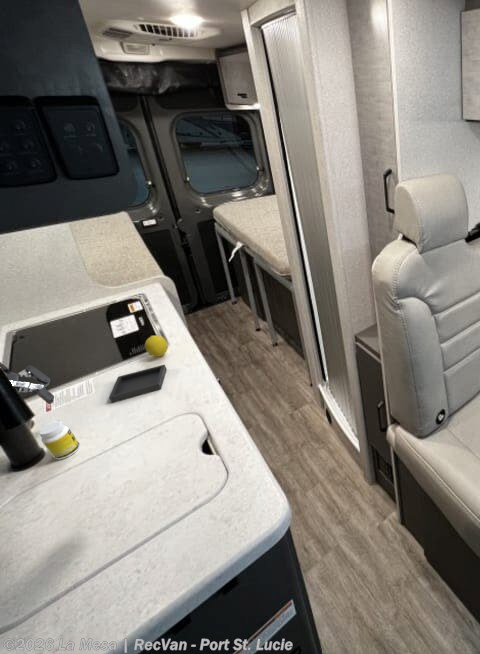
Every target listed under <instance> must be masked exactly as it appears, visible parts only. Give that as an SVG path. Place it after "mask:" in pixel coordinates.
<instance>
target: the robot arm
mask: <svg viewBox="0 0 480 654" xmlns="http://www.w3.org/2000/svg"><path fill="white" fill-rule="evenodd" d="M0 367H1V368H2V369H3V371H4V372H5V374H6V375H7V377H8V379H9V381H10V382H11V384H12V386H13V387H14V388H15V389H16V391H17V392H18V393H23V394H24V393H25V394H26V393H33V394H36V395H37V396H38V397H39V398H41V399H42V400H43V401H44V402H45V403H46V404H48V405H51V404H53V403H54V399H55V396H54V394H52V393H51V392H50V391H49V390H48V389H46V388H47V387H48V386H49V385H50V384H51V383H50V382H51V378H50V377H48V375H46V374H45V373H43V372H41V371H40V369H37V368H36V367H35V366H34V365H31V364H30V365H29V364H28V365H27V366H26V367H25V369H22V370H21V371H19V372H14V371H12V370H10V369H9V368H8V367H7V366H6V365H5V364H3V363H2V362H1V361H0ZM23 377H25V378H32V379H33V380H35V381H36V382H37V383H32V382H28V381H21V380H22V378H23Z"/></svg>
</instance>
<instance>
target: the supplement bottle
mask: <svg viewBox="0 0 480 654" xmlns="http://www.w3.org/2000/svg"><path fill="white" fill-rule="evenodd" d="M38 434H39V436H40V437H41V443H42V444H43V445H44V446H45V448H46V449H47V450H48V452H49V453H50V454H51V456H52V457H53V458H54V459H55V460H65V459H67V458H69V457H71V456H73V455H74V454H75V453H76V452H77V451H78V450H79V449H80V447H81V444H80V442H79V440H78V439H77V438H76V436H75V435H74V433H73V432H72V430H70V428H69V427H68V426H67V425H65V424H64V423H63V422H62V421H61V420H53V421H51V422H48V423H46V424H44V426H42V427H41V428H40V429H39V430H38Z"/></svg>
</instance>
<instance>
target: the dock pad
mask: <svg viewBox="0 0 480 654" xmlns="http://www.w3.org/2000/svg"><path fill="white" fill-rule="evenodd" d="M167 371H168V369H167V367H166V364H161V365H157V366H154V367H153V366H152V367H150V368H146V369H142V370H138V371H134V372H130V373H127V374H123V375H118V376H117V377H116V380H115V383H114V385H113V387H112V390H111V392H110V394H109V396H108V399H109V401H110V402H111V404H114V403H117V402H121V401H125V400H128V399H132V398H135V397H138V396H143V395H146V394H150V393H152V392H153V393H154V392H156V391H160V390H162V388H163V384H164V381H165V377H166V374H167Z"/></svg>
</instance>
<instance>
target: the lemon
mask: <svg viewBox="0 0 480 654" xmlns="http://www.w3.org/2000/svg"><path fill="white" fill-rule="evenodd" d="M168 344H169V343H168V342H167V340H166V338H164V337H163V336H161V335H150V337H148V338H147V339H146V340H145V343H144V349H145V351H146V353H147V354H148V355H150V356H152V357H162V356H164V354H166V353H167V351H168V348H169V345H168Z"/></svg>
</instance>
